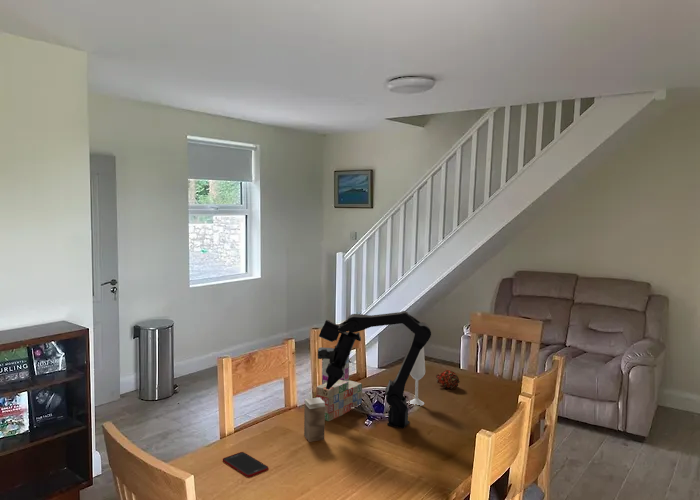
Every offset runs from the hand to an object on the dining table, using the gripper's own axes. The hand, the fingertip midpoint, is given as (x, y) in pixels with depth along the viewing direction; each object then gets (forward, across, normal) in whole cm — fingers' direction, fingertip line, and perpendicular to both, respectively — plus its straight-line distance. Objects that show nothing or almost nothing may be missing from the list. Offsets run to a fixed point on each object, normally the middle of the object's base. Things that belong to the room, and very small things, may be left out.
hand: (328, 384), depth 198 cm
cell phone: (+21, +36, -15) cm, 45 cm away
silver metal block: (+14, +15, +2) cm, 20 cm away
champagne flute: (+1, -23, +37) cm, 43 cm away
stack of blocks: (+12, -10, +8) cm, 18 cm away
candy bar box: (+13, -34, +5) cm, 37 cm away
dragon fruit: (-4, -44, +51) cm, 68 cm away
